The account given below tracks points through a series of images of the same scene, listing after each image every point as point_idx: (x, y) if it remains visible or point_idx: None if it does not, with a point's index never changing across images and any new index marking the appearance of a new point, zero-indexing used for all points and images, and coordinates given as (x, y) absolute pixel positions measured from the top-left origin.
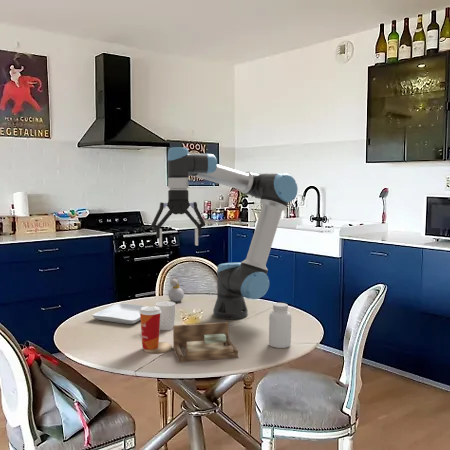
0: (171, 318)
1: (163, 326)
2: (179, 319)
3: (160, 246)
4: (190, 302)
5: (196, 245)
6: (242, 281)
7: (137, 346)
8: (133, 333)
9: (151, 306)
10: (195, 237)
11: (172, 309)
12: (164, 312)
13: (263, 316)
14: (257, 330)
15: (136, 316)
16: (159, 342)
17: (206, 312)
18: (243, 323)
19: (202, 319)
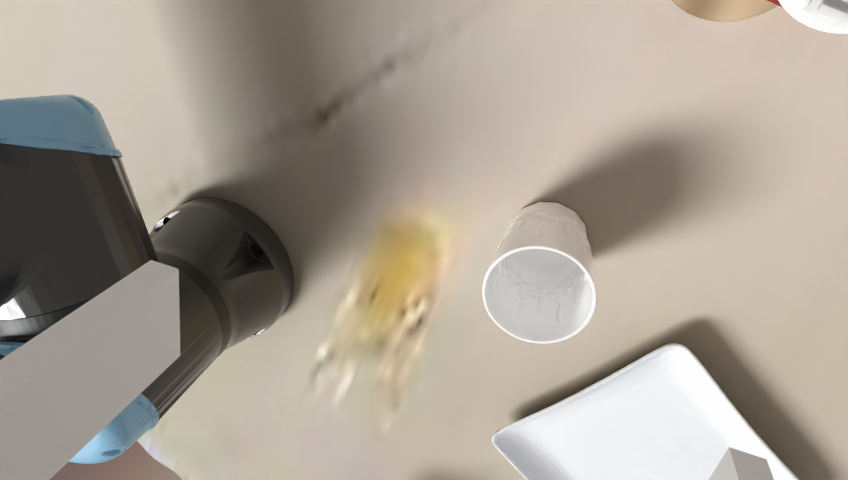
0: (529, 220)
1: (572, 215)
2: (442, 314)
3: (758, 460)
4: (323, 476)
5: (172, 267)
6: (54, 159)
7: None
8: (725, 235)
9: (829, 5)
10: (89, 393)
11: (518, 239)
12: (567, 238)
13: None
14: (180, 5)
15: (602, 427)
16: (694, 10)
17: (306, 340)
18: (209, 132)
19: (352, 267)
